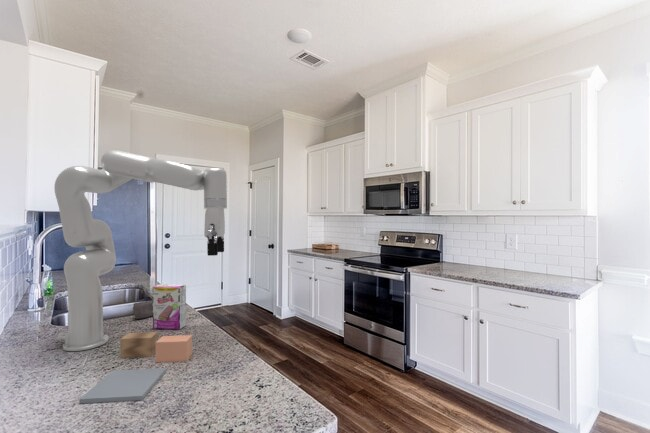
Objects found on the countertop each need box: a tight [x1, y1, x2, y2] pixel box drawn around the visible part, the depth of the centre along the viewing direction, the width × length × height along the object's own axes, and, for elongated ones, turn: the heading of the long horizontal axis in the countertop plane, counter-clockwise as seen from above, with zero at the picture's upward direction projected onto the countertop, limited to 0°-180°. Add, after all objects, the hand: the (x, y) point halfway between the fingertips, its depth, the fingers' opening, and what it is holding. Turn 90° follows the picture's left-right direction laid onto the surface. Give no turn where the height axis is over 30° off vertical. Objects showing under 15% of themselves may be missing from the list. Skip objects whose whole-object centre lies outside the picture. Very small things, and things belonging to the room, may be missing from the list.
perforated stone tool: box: [132, 299, 153, 320], centre depth 142 cm, size 15×5×7 cm, turn 141°
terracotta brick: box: [155, 334, 193, 363], centre depth 100 cm, size 9×5×6 cm, turn 95°
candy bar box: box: [152, 283, 187, 331], centre depth 127 cm, size 11×5×16 cm, turn 84°
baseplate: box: [78, 367, 167, 404], centre depth 84 cm, size 14×14×1 cm
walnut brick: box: [120, 331, 159, 359], centre depth 103 cm, size 9×5×6 cm, turn 95°
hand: (216, 253), depth 114 cm, fingers open, 9 cm apart
